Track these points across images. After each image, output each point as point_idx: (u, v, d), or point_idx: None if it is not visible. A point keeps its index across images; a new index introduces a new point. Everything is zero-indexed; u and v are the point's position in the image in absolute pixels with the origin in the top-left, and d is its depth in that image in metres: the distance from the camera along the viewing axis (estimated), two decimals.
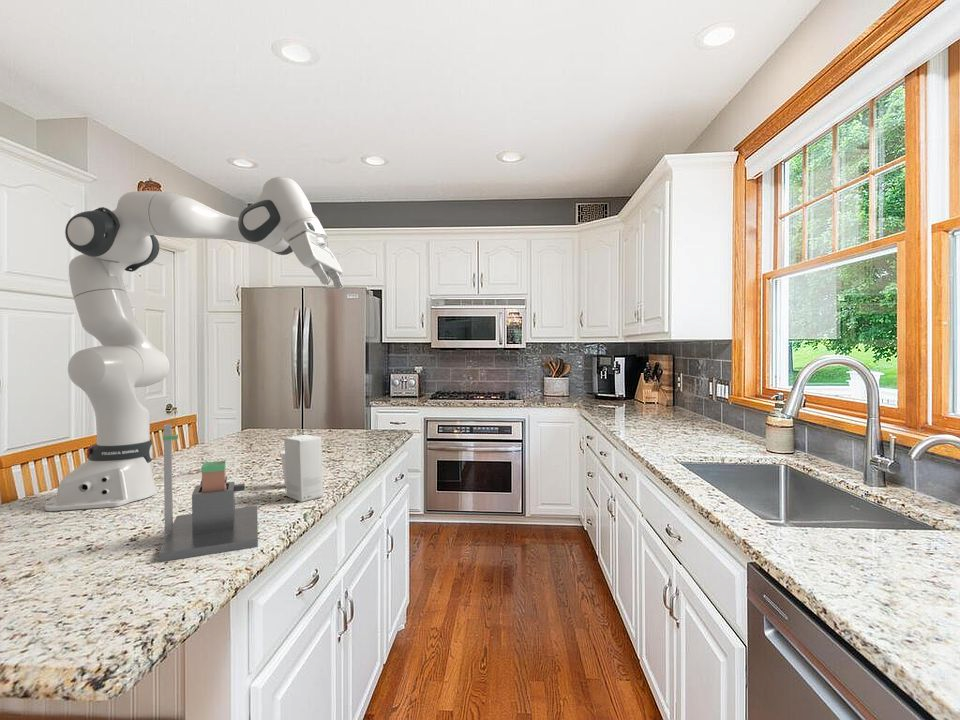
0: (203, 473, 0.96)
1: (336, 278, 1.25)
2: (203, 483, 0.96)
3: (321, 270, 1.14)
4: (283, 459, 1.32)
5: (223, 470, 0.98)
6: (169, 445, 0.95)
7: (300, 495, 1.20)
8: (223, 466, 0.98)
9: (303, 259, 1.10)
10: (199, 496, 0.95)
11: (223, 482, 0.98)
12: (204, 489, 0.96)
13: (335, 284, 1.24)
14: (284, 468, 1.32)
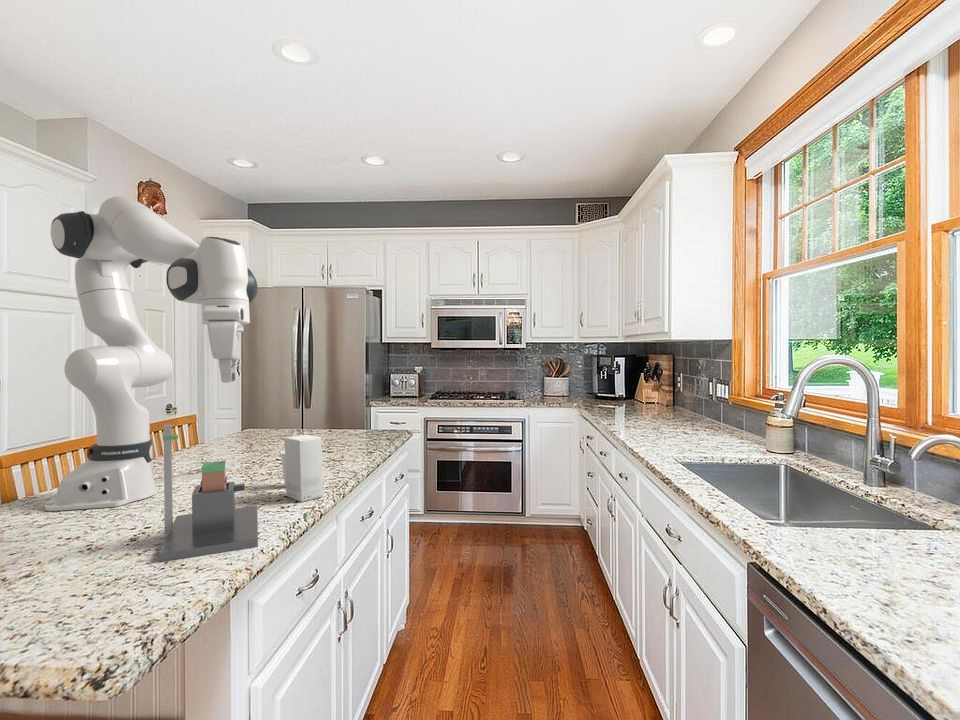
0: (203, 473, 0.96)
1: (231, 366, 1.05)
2: (203, 483, 0.96)
3: (229, 367, 0.94)
4: (283, 459, 1.32)
5: (223, 470, 0.98)
6: (169, 445, 0.95)
7: (300, 495, 1.20)
8: (223, 466, 0.98)
9: (218, 352, 0.90)
10: (199, 496, 0.95)
11: (223, 482, 0.98)
12: (204, 489, 0.96)
13: None
14: (284, 468, 1.32)
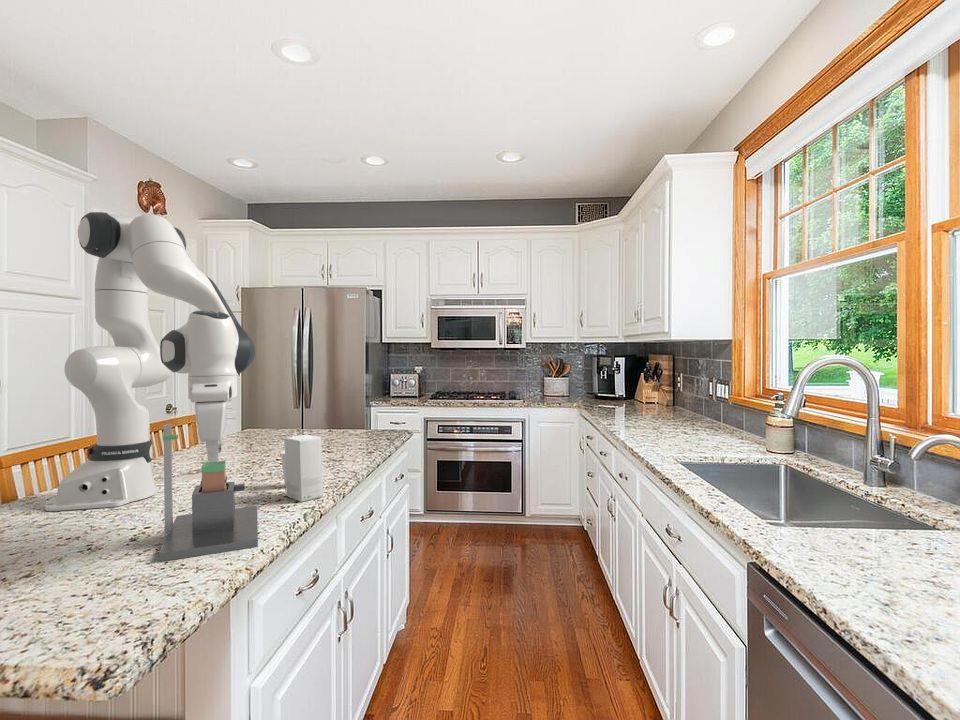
0: (203, 473, 0.96)
1: None
2: (203, 483, 0.96)
3: (216, 447, 0.93)
4: (283, 459, 1.32)
5: (223, 470, 0.98)
6: (169, 445, 0.95)
7: (300, 495, 1.20)
8: (223, 466, 0.98)
9: (205, 436, 0.89)
10: (199, 496, 0.95)
11: (223, 482, 0.98)
12: (204, 489, 0.96)
13: None
14: (284, 468, 1.32)
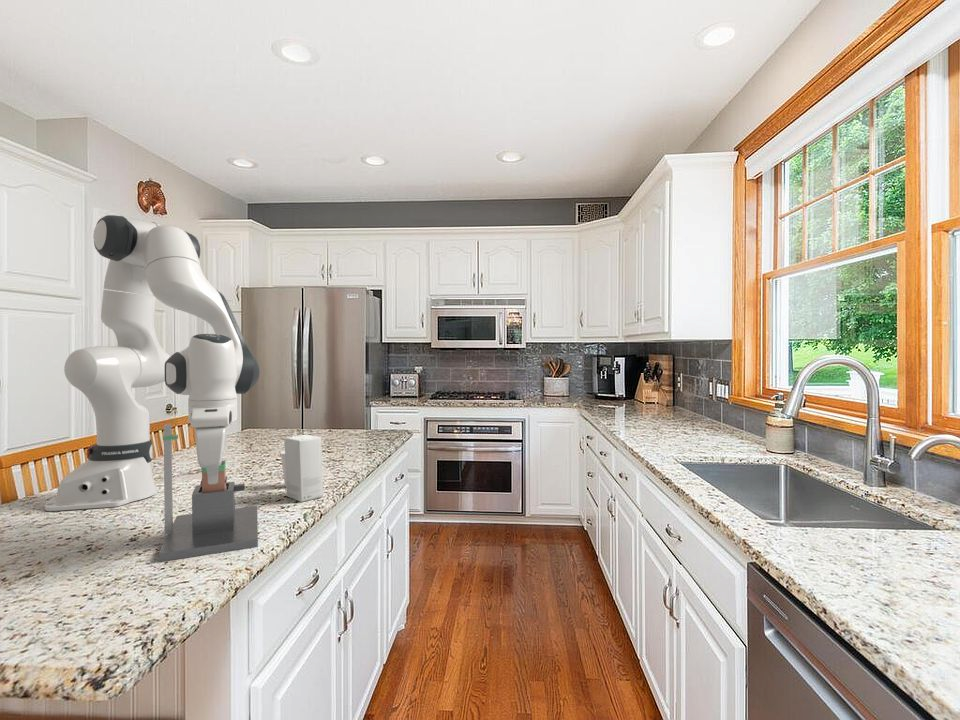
0: (203, 473, 0.96)
1: None
2: (203, 483, 0.96)
3: (216, 470, 0.95)
4: (283, 459, 1.32)
5: (223, 470, 0.98)
6: (169, 445, 0.95)
7: (300, 495, 1.20)
8: (223, 466, 0.98)
9: (205, 462, 0.89)
10: (199, 496, 0.95)
11: (223, 482, 0.98)
12: (204, 489, 0.96)
13: None
14: (284, 468, 1.32)
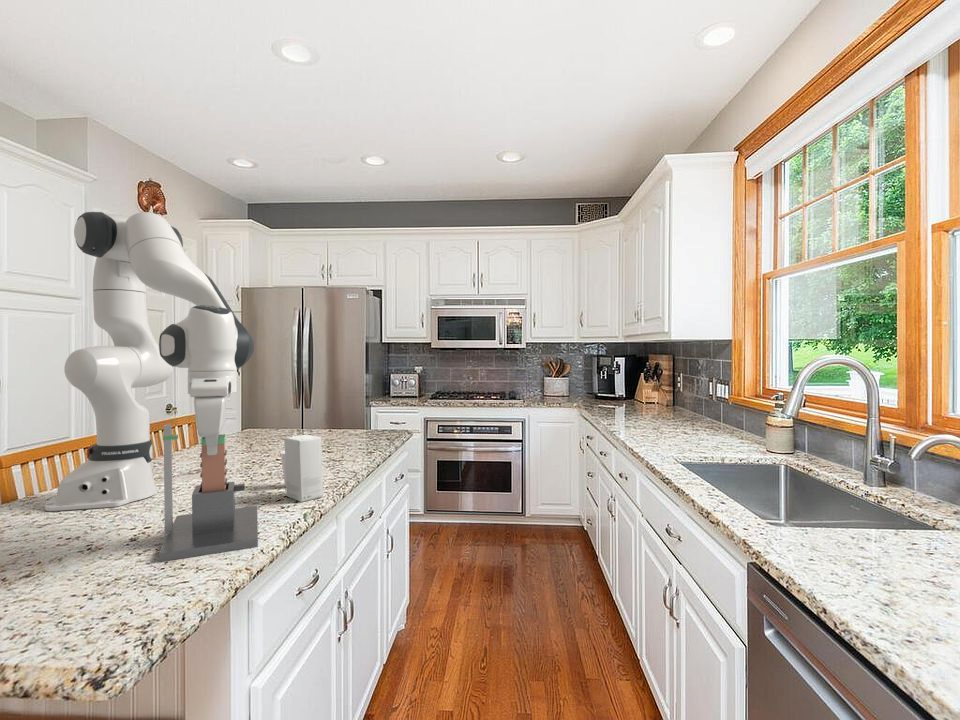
0: (203, 445, 0.96)
1: None
2: (203, 455, 0.96)
3: (215, 441, 0.95)
4: (283, 459, 1.32)
5: (223, 443, 0.98)
6: (169, 445, 0.95)
7: (300, 495, 1.20)
8: (223, 439, 0.98)
9: (204, 431, 0.89)
10: (199, 496, 0.95)
11: (223, 455, 0.98)
12: (204, 461, 0.96)
13: None
14: (284, 468, 1.32)
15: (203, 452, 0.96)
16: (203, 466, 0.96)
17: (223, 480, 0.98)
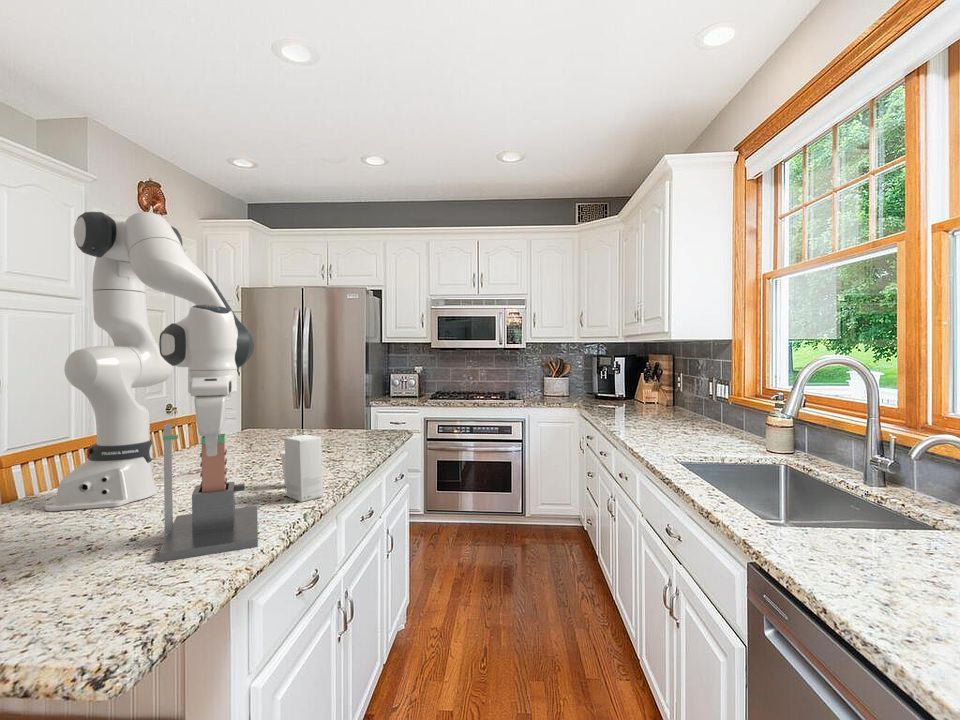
0: (203, 445, 0.96)
1: None
2: (203, 455, 0.96)
3: (215, 442, 0.93)
4: (283, 459, 1.32)
5: (223, 442, 0.98)
6: (169, 445, 0.95)
7: (300, 495, 1.20)
8: (223, 438, 0.98)
9: (204, 430, 0.89)
10: (199, 496, 0.95)
11: (223, 454, 0.98)
12: (204, 461, 0.96)
13: None
14: (284, 468, 1.32)
15: (203, 451, 0.96)
16: (203, 465, 0.96)
17: (223, 479, 0.98)
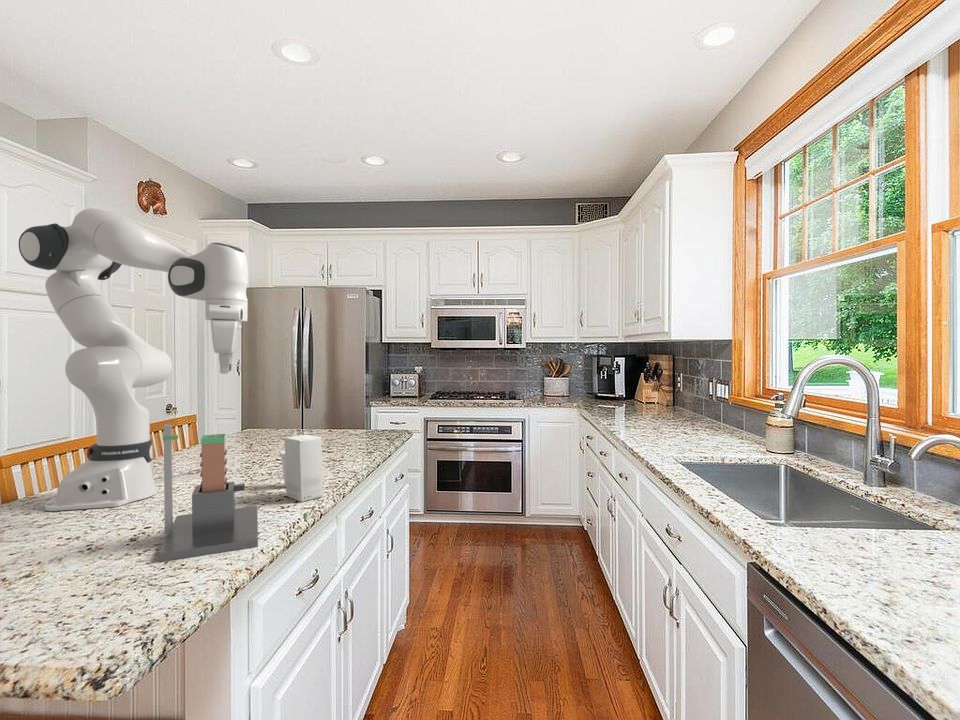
0: (203, 445, 0.96)
1: None
2: (203, 455, 0.96)
3: (227, 361, 1.07)
4: (283, 459, 1.32)
5: (223, 442, 0.98)
6: (169, 445, 0.95)
7: (300, 495, 1.20)
8: (223, 438, 0.98)
9: (219, 347, 1.03)
10: (199, 496, 0.95)
11: (223, 454, 0.98)
12: (204, 461, 0.96)
13: None
14: (284, 468, 1.32)
15: (203, 451, 0.96)
16: (203, 465, 0.96)
17: (223, 479, 0.98)
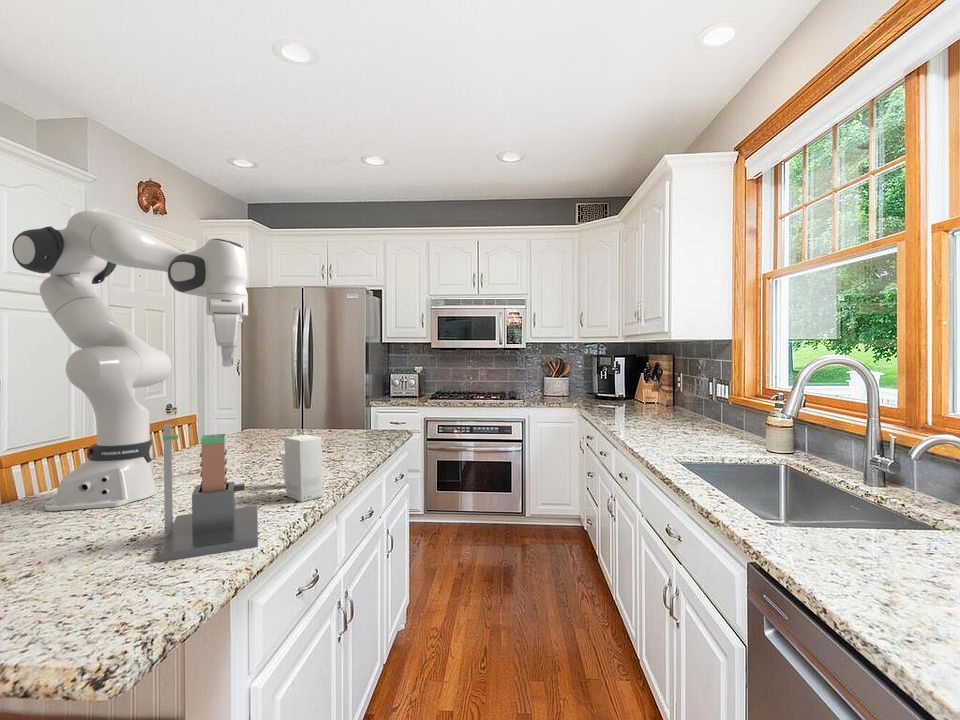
0: (203, 445, 0.96)
1: None
2: (203, 455, 0.96)
3: (230, 354, 1.09)
4: (283, 459, 1.32)
5: (223, 442, 0.98)
6: (169, 445, 0.95)
7: (300, 495, 1.20)
8: (223, 438, 0.98)
9: (221, 340, 1.05)
10: (199, 496, 0.95)
11: (223, 454, 0.98)
12: (204, 461, 0.96)
13: None
14: (284, 468, 1.32)
15: (203, 451, 0.96)
16: (203, 465, 0.96)
17: (223, 479, 0.98)
